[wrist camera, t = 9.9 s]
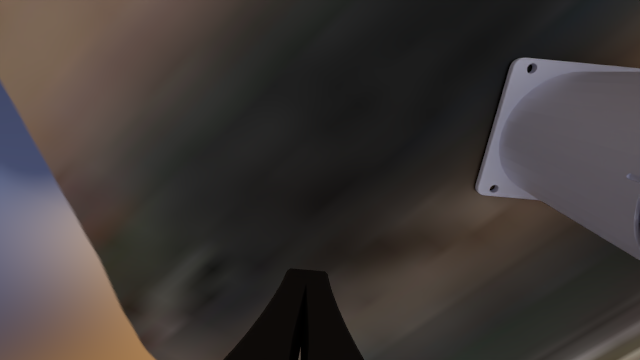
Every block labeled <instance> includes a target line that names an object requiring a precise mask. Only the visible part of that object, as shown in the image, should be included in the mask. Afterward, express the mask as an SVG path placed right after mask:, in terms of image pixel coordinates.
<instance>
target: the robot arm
mask: <svg viewBox="0 0 640 360" xmlns="http://www.w3.org/2000/svg"><path fill="white" fill-rule="evenodd" d="M530 64H531V65H532V70H531V72H529V73H528V72H527V67H528V66H529V65H530ZM493 185H495V188H494V189H493V190H490V187H491V186H493ZM475 189H476V191H477V192H478V193H479V194H481V195H486V196H497V197H508V198H520V199H531V200H541V201H542V202H544V203H546V204H547V205H549V206H551V207H552V208H554V209H556V210H557V211H559V212H560V213H562V214H564V215H565V216H567V217H569V218H570V219H572V220H574V221H575V222H577V223H579V224H580V225H582V226H584V227H585V228H587V229H589V230H590V231H592V232H594V233H595V234H597V235H599V236H600V237H602V238H604V239H605V240H607V241H608V242H610V243H612V244H613V245H615V246H617V247H618V248H620V249H622V250H623V251H625V252H627V253H628V254H630V255H632V256H633V257H635V258H637V259H638V260H640V68H631V67H620V66H609V65H599V64H588V63H577V62H567V61H556V60H545V59H535V58H518V59H516V60H514V61H513V62H512V63H511V65H510V68H509V71H508V75H507V78H506V82H505V85H504V89H503V92H502V96H501V99H500V102H499V106H498V109H497V113H496V116H495V120H494V123H493V127H492V130H491V134H490V137H489V140H488V144H487V147H486V151H485V154H484V158H483V161H482V165H481V168H480V171H479V175H478V178H477V182H476V185H475ZM300 347H301V360H364V359H363V357H362V355H361V353H360V352H359V350H358V348H357V346H356V344H355V342H354V340H353V339H352V337H351V335H350V333H349V331H348V329H347V327H346V324H345V322H344V320H343V318H342V315H341V313H340V311H339V309H338V306H337V304H336V301H335V298H334V296H333V293H332V290H331V287H330V283H329V279H328V274H327V273H326V272H325V271H313V270H302V269H289V270H288V271H287V272H286V275H285V277H284V279H283V281H282V283H281V285H280V286H279V288H278V290H277V291H276V293H275V295H274V296H273V298H272V299H271V301H270V302H269V304H268V305H267V307H266V308H265V310H264V311H263V313H262V314H261V315H260V317H259V318H258V319H257V321H256V322H255V323H254V324H253V326H252V327H251V328H250V330H249V331H248V332H247V333H246V335H245V336H244V337H243V338H242V339H241V341H240V342H239V343H238V344H237V345H236V346H235V348H234V349H233V350H232V351H231V352H230V353H229V354H228V355H227V356H226V357H225V359H224V360H298V358H299V353H300Z"/></svg>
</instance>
